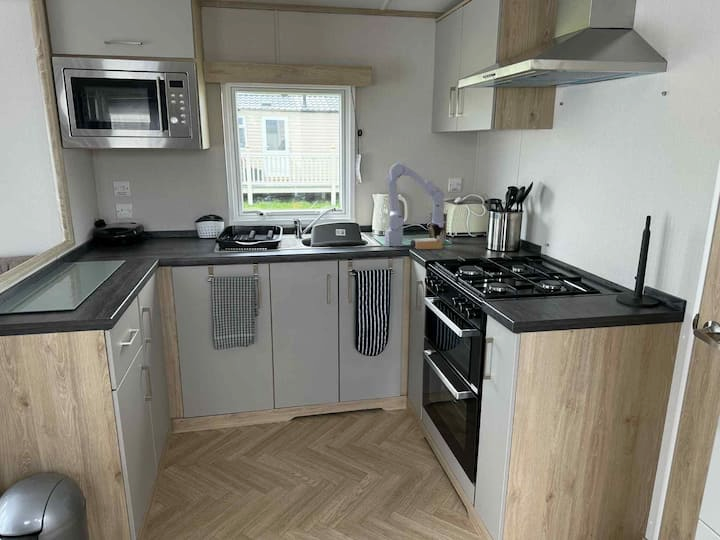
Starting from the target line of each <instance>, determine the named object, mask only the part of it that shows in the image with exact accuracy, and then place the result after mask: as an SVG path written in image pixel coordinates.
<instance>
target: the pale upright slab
mask: <svg viewBox="0 0 720 540" xmlns="http://www.w3.org/2000/svg"><path fill="white" fill-rule="evenodd" d="M425 241H437V239H435V238H429V237H428V238H411V239H410V247H411V248H412V247H413V248H412V249H415V248H416V250H418V249H417V243H418V242H425ZM440 241H441V240H440Z"/></svg>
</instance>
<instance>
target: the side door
mask: <svg viewBox="0 0 720 540" xmlns="http://www.w3.org/2000/svg"><path fill="white" fill-rule="evenodd" d="M443 244H444V243H443V241H440V236H439V235H437V241H425V242H418V243H417V249H416V250H437V249H438V250H439V249H443Z"/></svg>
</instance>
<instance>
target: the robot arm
mask: <svg viewBox="0 0 720 540" xmlns="http://www.w3.org/2000/svg"><path fill="white" fill-rule="evenodd" d="M401 176H407V177H410V178H411V179H413V181H415V182H416V183H418V184H419V185H420V186H421V190H422V191H424V192H425V193H426V194H428V196H429V197H432V200H433V203H432V213H433V215H432V223H433V224H435V225H432V228H433V232H434V237H435V239H437V235H439V236H440V233H441V231H442V229H443V227H444V224H443V223H445V221H443V214H444V213H445V211H444V210H445V205H444V204H445V201H444V200H445V198H446V193H445V191H444V190H443V189H440V187H438V186H437V185H435V184H434V182H433V180H429V179H428V180H425V178H423V177H422V176H421V175H419V173H418V172H416V171H415V170H414V169H413V168H412V167H410V166H409V165H407V164H406V162H396V163H394V164H393V165H392V166H391V167H390V168H389V172H388V174H387V176H386V187H387V193H388V203H389V209H390V214H389V222H388V224H389V229H385V232H384V243H383V244H384V245H385V246H387V247H389V246H393V247H405V246H406V244H404V243H403V242H404V241H403V238H404V228H403V226H404V223H405V220H404V217H403V216H402V212H401V209H400V200H399V194H398V193H399V192H398V185H397V184H398V183H397V181H398V180H399V178H400V177H401Z"/></svg>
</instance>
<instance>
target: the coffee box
mask: <svg viewBox="0 0 720 540" xmlns="http://www.w3.org/2000/svg"><path fill="white" fill-rule="evenodd" d="M432 215H433V212H431V213H430V214H429V216H430V217H429V233H428V235H429V236H428V238H435V237H434V232H433V228H432V225H435V224H433V223H432ZM443 221H445V223H443V224H444V227H443V229H442V231H441V233H440V240H441V241H443V244H445V243H447V228H448V227H447V225H448V213H445V212H444V214H443Z"/></svg>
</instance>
